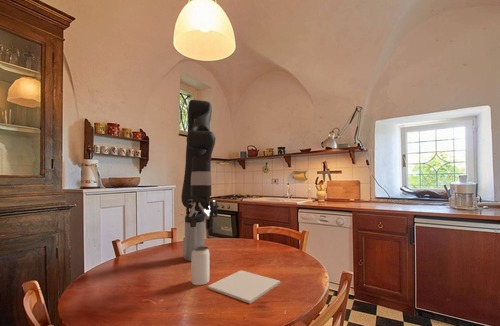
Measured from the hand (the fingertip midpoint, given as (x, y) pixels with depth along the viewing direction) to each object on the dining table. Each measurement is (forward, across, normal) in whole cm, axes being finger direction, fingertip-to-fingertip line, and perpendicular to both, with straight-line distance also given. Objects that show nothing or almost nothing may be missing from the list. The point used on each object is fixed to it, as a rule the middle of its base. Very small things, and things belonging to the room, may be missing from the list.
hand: (201, 228), depth 90 cm
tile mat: (+19, +15, +7) cm, 25 cm away
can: (+19, 0, 0) cm, 19 cm away
